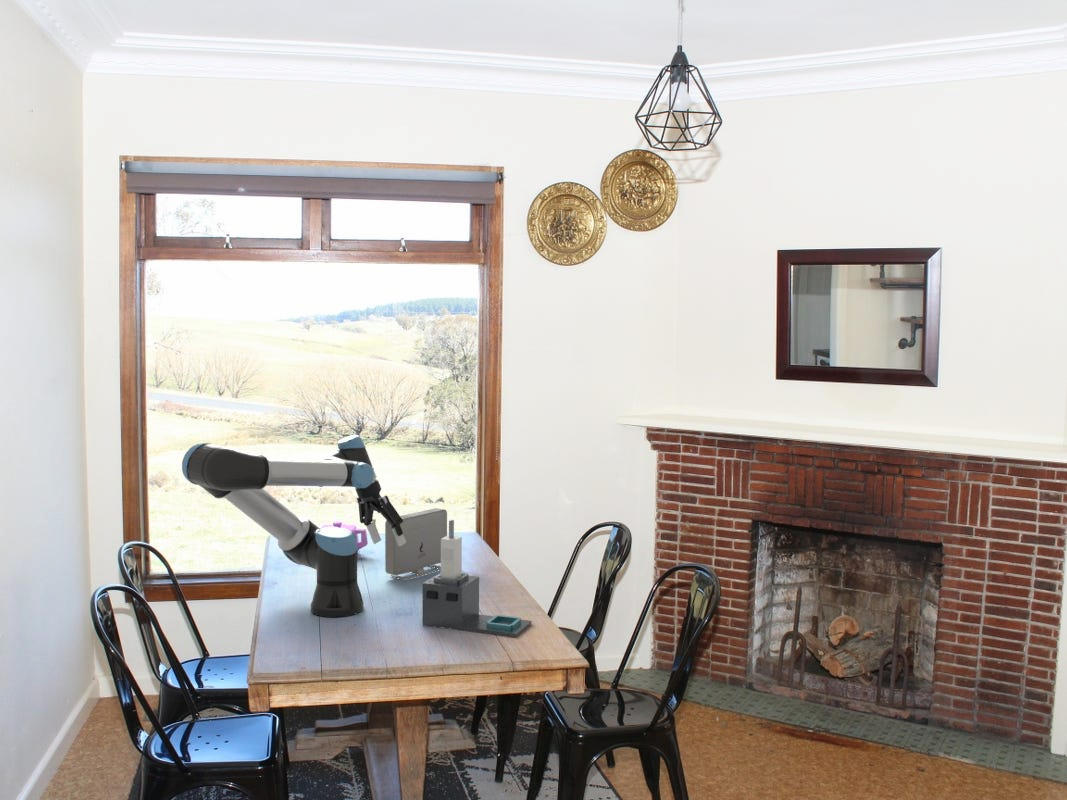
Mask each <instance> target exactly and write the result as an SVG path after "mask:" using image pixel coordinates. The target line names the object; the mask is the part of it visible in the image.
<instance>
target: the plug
mask: <svg viewBox="0 0 1067 800" xmlns="http://www.w3.org/2000/svg"><path fill="white" fill-rule="evenodd" d="M454 532H455V520H454V519H448V535H447V536H446V537H444V538H442V539H441V563H440V567H441V571H440V573H441V578H448V579H458V578H460V577H461V576H462V573H463V572H462V565H463V563H462V562H463V561H462V555H463V554H462V553H463V552H462V551H463V548H462V546H463V545H462V543H463V539H462V536H456V535H455V533H454Z"/></svg>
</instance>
